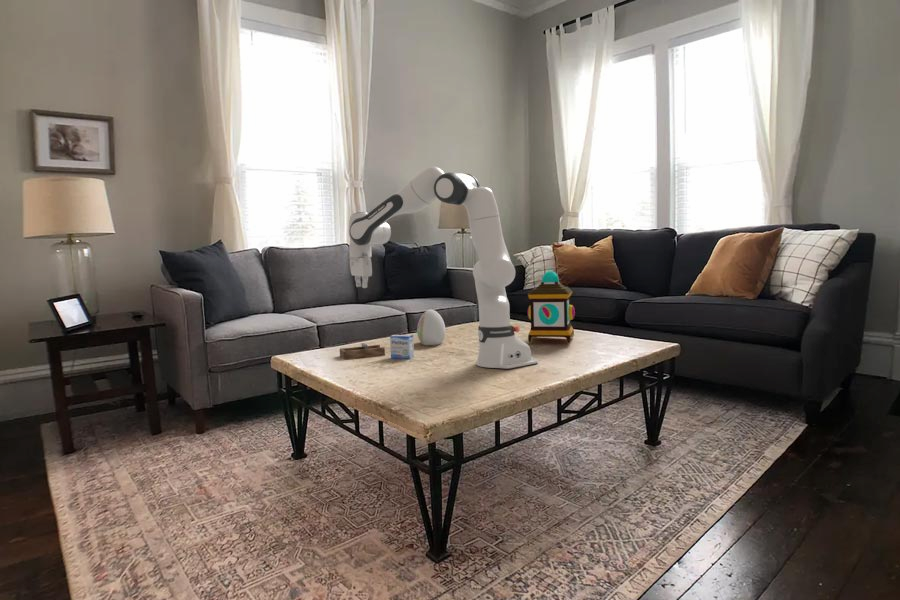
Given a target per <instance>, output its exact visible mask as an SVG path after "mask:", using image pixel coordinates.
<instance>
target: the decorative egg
mask: <svg viewBox="0 0 900 600" xmlns="http://www.w3.org/2000/svg"><path fill="white" fill-rule="evenodd" d="M416 332H417V334H416V335H417V338H418V340H419V342H420V343H421V345H423V346H428V345H433V346H439V345H441V344H442V343H443V342H444V340H445V337H446V335H447V334H446V332H447V331H446V325H445V322H444V319H443V317H442V316H441V314H440V313H438V312H437V310H435V309H427V310H426V311H425V312H424V313H422V315H421V316H420V318H419V320H418V322H417V329H416Z"/></svg>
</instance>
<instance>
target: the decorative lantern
mask: <svg viewBox="0 0 900 600" xmlns="http://www.w3.org/2000/svg"><path fill="white" fill-rule="evenodd" d="M559 279H560V278H559V276H558V274H557V273H556V272H555V271H554V270H548V271H546V272H545V273H544V274H542V277H541V282H540V284H539V285H538V286H536V287H535V288H532V289H531V290H530V291H529V292H528V293H527V297H528V299H529V301H530V303H529V304H530V305H529V306H528V307H527V318H528V319H529V320H530V330H529V332H528V334H527V340H528V344H532V342H533V338H538V337H539V338H565V339H566V343H567V344H568V345H569V344H571V339H573V338H574V336H575V333H574V328H573V326H572V322H571V321H572V320H574V319H575V315H576V312H575V307H574V305H573V304H571V296H572V294H573V290H572V289H571V288H569V286H565V284H562V283H561V282H560V280H559Z"/></svg>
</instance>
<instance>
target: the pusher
mask: <svg viewBox="0 0 900 600" xmlns="http://www.w3.org/2000/svg"><path fill="white" fill-rule="evenodd" d="M367 346H368V344H366V343H365V342H363V343H361V347H362V349H367Z"/></svg>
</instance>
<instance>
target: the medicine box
mask: <svg viewBox="0 0 900 600" xmlns="http://www.w3.org/2000/svg"><path fill="white" fill-rule="evenodd" d="M389 344H390V358H391V359H393V360H411V359H413V358H414V357H415V350H414V349H415V348H414V347H415V346H414V335H413V334H392V335H390V336H389Z"/></svg>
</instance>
